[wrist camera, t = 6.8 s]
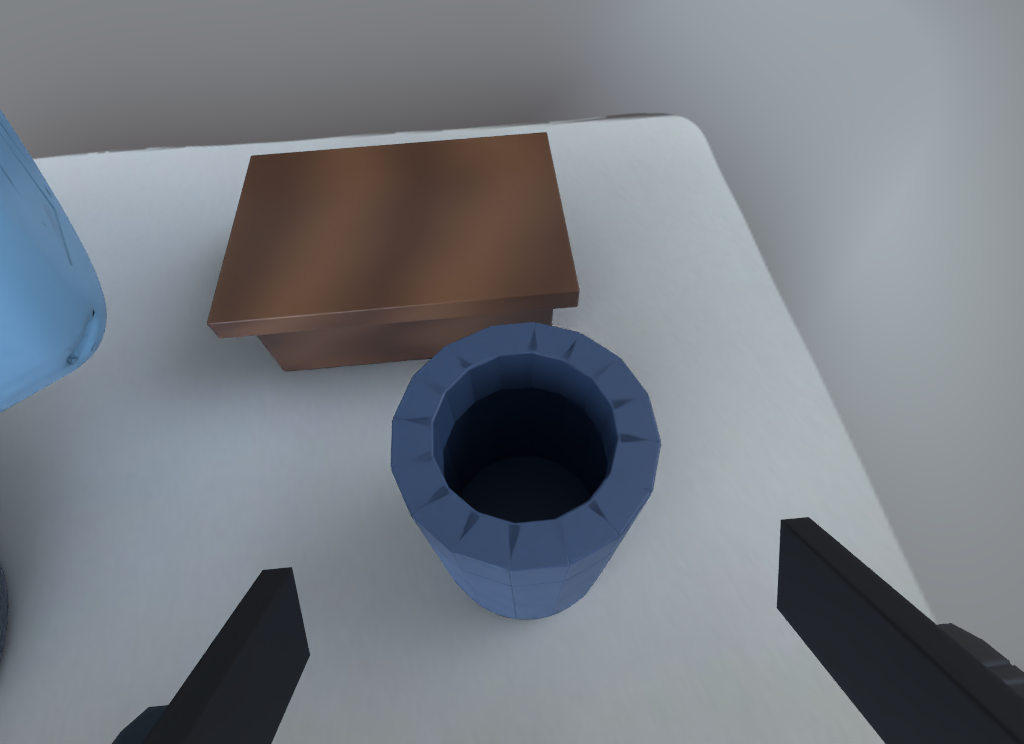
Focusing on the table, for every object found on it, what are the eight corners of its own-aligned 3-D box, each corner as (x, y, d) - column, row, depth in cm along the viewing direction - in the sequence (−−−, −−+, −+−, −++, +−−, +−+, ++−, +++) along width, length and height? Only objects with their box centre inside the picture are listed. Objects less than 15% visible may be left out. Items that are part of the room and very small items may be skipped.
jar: (445, 628, 22) (386, 584, 13) (441, 461, 26) (394, 334, 17) (622, 610, 22) (691, 553, 13) (592, 446, 26) (628, 313, 17)
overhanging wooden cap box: (263, 389, 29) (205, 323, 23) (291, 233, 35) (250, 155, 30) (570, 361, 29) (580, 291, 24) (544, 212, 35) (546, 131, 30)
